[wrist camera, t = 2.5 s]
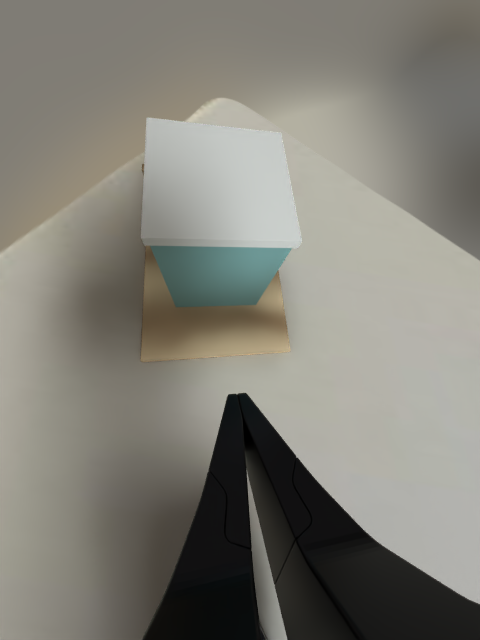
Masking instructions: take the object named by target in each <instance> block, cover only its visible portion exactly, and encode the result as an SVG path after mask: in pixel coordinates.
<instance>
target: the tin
mask: <svg viewBox="0 0 480 640" xmlns="http://www.w3.org/2000/svg"><path fill="white" fill-rule="evenodd" d="M145 143H146V144H145V162H144V181H143V201H142V221H141V240H142V242H143V244H144V245H145V246H150V247H151V250H152V252H153V254H154V257H155V259H156V261H157V264H158V266H159V268H160V271H161V273H162V276H163V278H164V280H165V283H166V285H167V287H168V290H169V292H170V294H171V297H172V299H173V302H174V304H175V306H176V307H202V306H237V305H256V304H257V303H258V301H259V299H260V298H261V296H262V295H263V293H264V291H265V290H266V288H267V287H268V285H269V284H270V282H271V280H272V279H273V277H274V276H275V274H276V273H277V271H278V269H279V268H280V266H281V265H282V263H283V261H284V260H285V258H286V257H287V255H288V254H289V252H290V250H291V249H292V248H298V247H299V245H300V244H301V242H302V239H301V233H300V228H299V223H298V218H297V213H296V207H295V202H294V197H293V192H292V187H291V181H290V176H289V171H288V166H287V160H286V155H285V150H284V145H283V140H282V134H281V133H279V132H270V131H262V130H253V129H244V128H235V127H226V126H218V125H209V124H200V123H191V122H182V121H173V120H165V119H156V118H147V124H146V142H145Z"/></svg>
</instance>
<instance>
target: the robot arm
mask: <svg viewBox="0 0 480 640" xmlns="http://www.w3.org/2000/svg"><path fill="white" fill-rule="evenodd" d="M246 468H247V472H246ZM247 473H248V477H249V481H250V485H251V489H252V493H253V498H254V502H255V506H256V510H257V514H258V518H259V523H260V527H261V531H262V535H263V539H264V543H265V547H266V552H267V556H268V560H269V564H270V568H271V572H272V577H273V581H274V584H275V589H276V593H277V598H278V602H279V606H280V610H281V614H282V618H283V623H284V627H285V631H286V635H287V639H288V640H480V604H478V603H475V602H473V601H471V600H469V599H467V598H465V597H463V596H462V595H460V594H458V593H456V592H455V591H453V590H452V589H450V588H449V587H447V586H445V585H444V584H442V583H441V582H439V581H437V580H436V579H434V578H433V577H431V576H430V575H428V574H426V573H425V572H423V571H422V570H420V569H418V568H417V567H415V566H414V565H412V564H411V563H409V562H407V561H406V560H404V559H403V558H401V557H399V556H398V555H396V554H395V553H393V552H391V551H390V550H388V549H387V548H385V547H384V546H382V545H381V544H380V543H378V542H377V541H376V540H374V539H373V538H372V537H371V536H370V535H369V534H367V533H366V532H365V531H364V530H363V529H362V528H361V527H360V526H359V525H358V524H357V523H356V522H355V521H354V520H353V519H352V517H351V516H350V515H349V514H348V513H347V512H346V511H345V510H344V509H343V508H342V507H341V506H340V505H339V504H338V503H337V502H336V501H335V500H334V499H333V498H332V497H331V496H330V494H329V493H328V492H327V491H326V490H325V489H324V488H323V487H322V486H321V485H320V484H319V483H318V482H317V480H316V479H315V478H314V477H313V476H312V475H311V473H310V472H309V471H308V470H307V469H306V467H305V466H304V465H303V464H302V462H301V461H300V460H299V459H298V458H296V455H295V454H294V453H293V451H292V450H291V449H290V447H289V446H288V445H287V444H286V442H285V441H284V440H283V439H282V437H281V436H280V435H279V434H278V432H277V431H276V430H275V429H274V427H273V426H272V425H271V424H270V422H269V421H268V420H267V418H266V417H265V416H264V415H263V413H262V412H261V411H260V410H259V408H258V407H257V406H256V405H255V403H254V402H253V401H252V400H251V398H250V397H249V396H248V395H247V394H246V393H239V394H229V395H228V396H227V400H226V404H225V408H224V412H223V416H222V420H221V424H220V427H219V431H218V435H217V439H216V443H215V447H214V451H213V455H212V459H211V462H210V466H209V472H208V474H207V478H206V481H205V485H204V489H203V492H202V496H201V499H200V502H199V505H198V508H197V511H196V513H195V516H194V519H193V522H192V525H191V527H190V530H189V533H188V535H187V538H186V540H185V543H184V546H183V548H182V551H181V554H180V556H179V559H178V562H177V564H176V567H175V570H174V572H173V575H172V577H171V580H170V582H169V585H168V587H167V589H166V592H165V594H164V596H163V598H162V600H161V603H160V605H159V607H158V609H157V611H156V613H155V615H154V617H153V619H152V621H151V623H150V625H149V627H148V629H147V631H146V633H145V635H144V637H143V639H142V640H267V638H266V636H265V634H264V632H263V630H262V627H261V625H260V623H259V615H258V607H257V600H256V592H255V583H254V573H253V562H252V551H251V533H250V517H249V502H248V487H247Z"/></svg>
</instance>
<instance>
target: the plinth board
mask: <svg viewBox="0 0 480 640" xmlns="http://www.w3.org/2000/svg"><path fill="white" fill-rule="evenodd" d="M142 172H143V175H144V164H142ZM282 352H290V345H289V338H288V331H287V325H286V318H285V312H284V305H283V298H282V292H281V285H280V279H279V272H278V271H277V273H276V274H275V276H274V277H273V279H272V280H271V282H270V284H269V285H268V287H267V288H266V290H265V291H264V293H263V295H262V296H261V298H260V299H259V301H258V303H257V304H256V305H237V306H202V307H176V306H175V304H174V302H173V299H172V297H171V294H170V292H169V290H168V287H167V285H166V283H165V280H164V278H163V276H162V273H161V271H160V268H159V266H158V264H157V261H156V259H155V257H154V254H153V252H152V250H151V247H150V246H146V252H145V274H144V296H143V319H142V341H141V362H152V361H166V360H181V359H195V358H210V357H224V356H238V355H253V354H267V353H282Z"/></svg>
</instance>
